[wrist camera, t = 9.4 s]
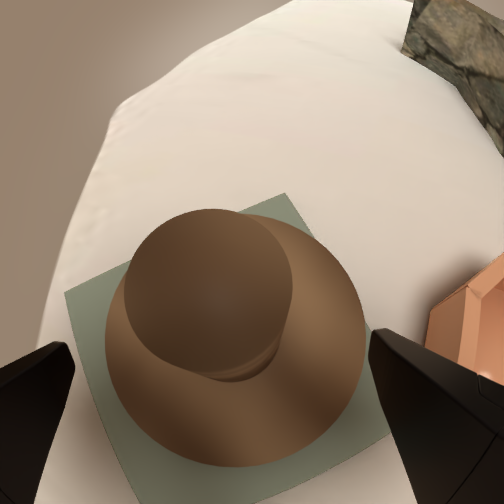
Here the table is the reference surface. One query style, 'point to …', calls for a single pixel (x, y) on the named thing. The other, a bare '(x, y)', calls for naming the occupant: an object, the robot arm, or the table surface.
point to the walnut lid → (234, 338)
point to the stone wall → (462, 55)
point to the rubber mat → (191, 472)
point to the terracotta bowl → (473, 323)
